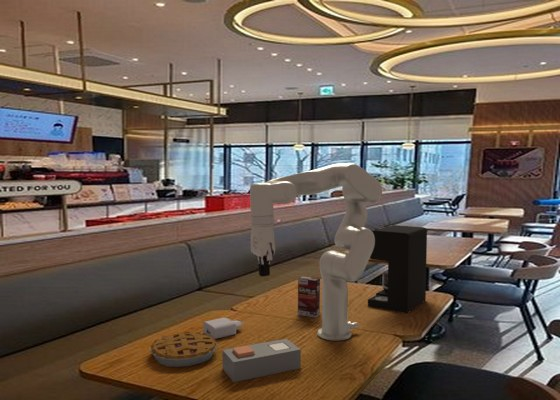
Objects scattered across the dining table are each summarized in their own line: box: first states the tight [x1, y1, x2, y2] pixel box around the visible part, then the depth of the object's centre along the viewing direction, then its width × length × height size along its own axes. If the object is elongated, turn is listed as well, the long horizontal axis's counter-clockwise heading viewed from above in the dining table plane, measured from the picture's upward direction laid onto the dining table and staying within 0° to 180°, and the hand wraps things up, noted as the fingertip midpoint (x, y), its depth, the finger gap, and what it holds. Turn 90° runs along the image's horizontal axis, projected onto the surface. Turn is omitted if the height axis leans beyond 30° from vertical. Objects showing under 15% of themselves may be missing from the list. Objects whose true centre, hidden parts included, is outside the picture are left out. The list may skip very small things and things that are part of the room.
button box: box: [222, 338, 302, 383], centre depth 142 cm, size 22×10×6 cm, turn 116°
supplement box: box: [297, 276, 321, 318], centre depth 194 cm, size 9×5×16 cm, turn 68°
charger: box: [202, 317, 245, 340], centre depth 174 cm, size 5×9×15 cm
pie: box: [150, 331, 218, 368], centre depth 153 cm, size 22×22×5 cm
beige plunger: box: [269, 343, 289, 351], centre depth 144 cm, size 5×5×6 cm
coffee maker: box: [367, 224, 428, 314], centre depth 213 cm, size 28×20×35 cm
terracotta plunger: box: [233, 345, 254, 358], centre depth 139 cm, size 5×5×6 cm
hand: (264, 275), depth 152 cm, fingers closed
